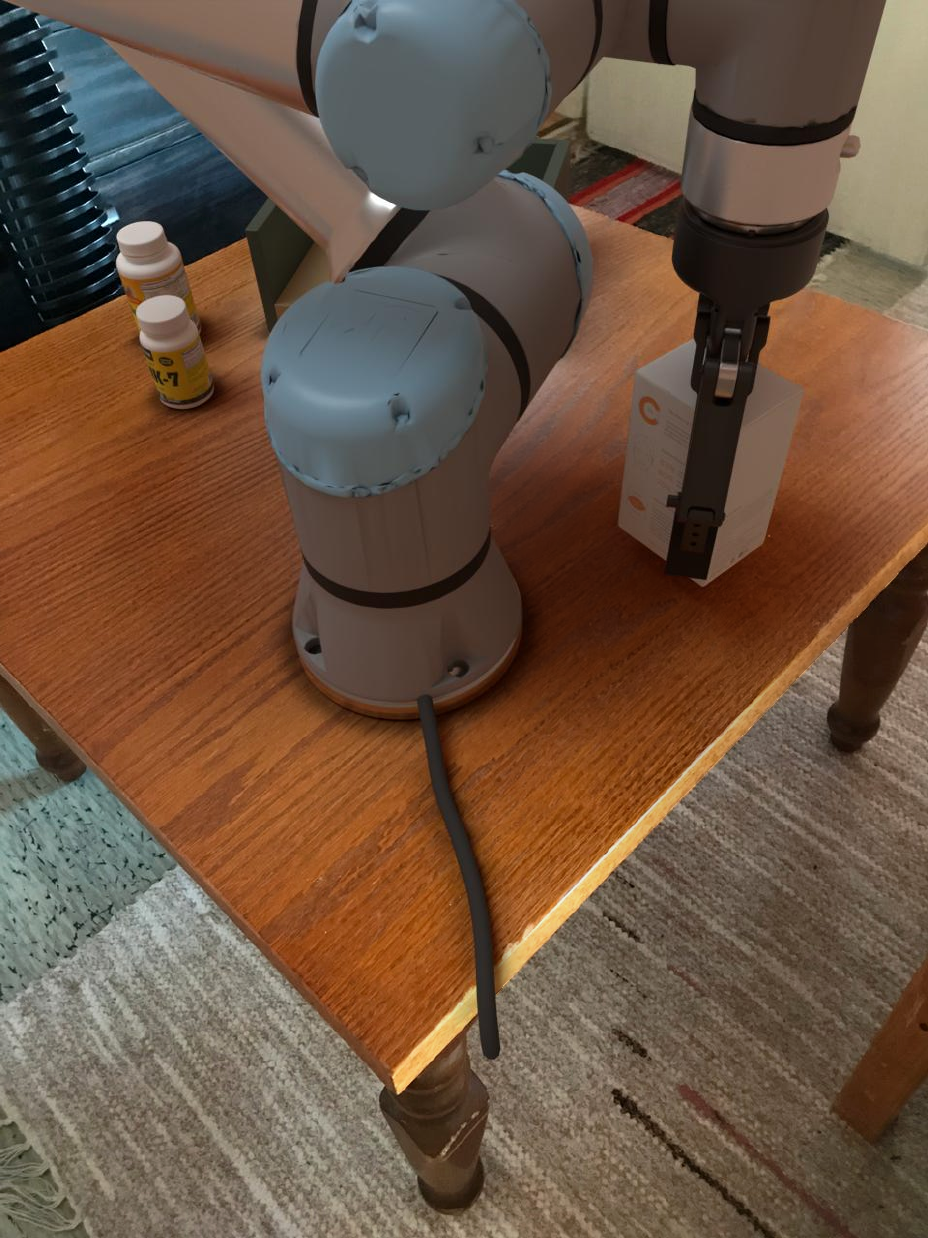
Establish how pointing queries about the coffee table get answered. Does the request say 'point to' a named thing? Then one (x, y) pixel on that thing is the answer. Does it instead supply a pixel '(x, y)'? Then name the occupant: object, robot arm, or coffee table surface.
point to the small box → (664, 447)
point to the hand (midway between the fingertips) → (692, 518)
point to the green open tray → (301, 264)
